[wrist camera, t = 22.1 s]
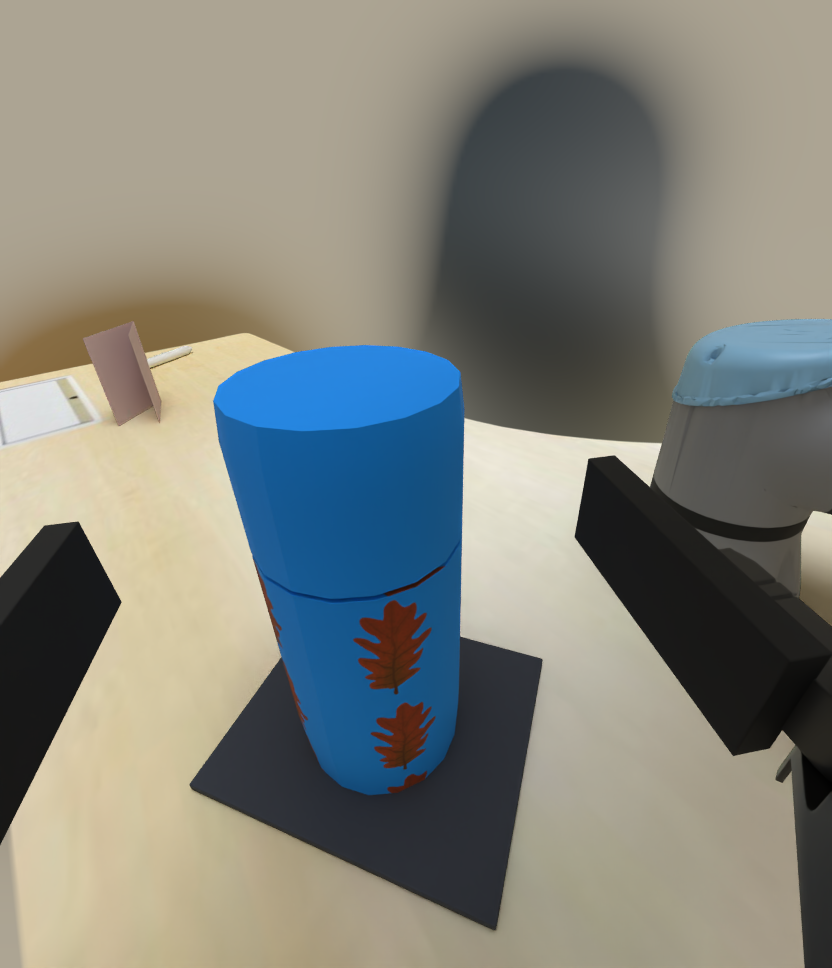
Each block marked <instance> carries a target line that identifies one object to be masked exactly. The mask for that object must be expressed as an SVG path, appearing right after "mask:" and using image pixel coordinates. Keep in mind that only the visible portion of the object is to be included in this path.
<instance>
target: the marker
mask: <svg viewBox="0 0 832 968" xmlns="http://www.w3.org/2000/svg"><path fill="white" fill-rule="evenodd" d="M191 351H192V347H190V346H183V347H180V348H177V349H174V350H171V351H168V352H164V353H161V354H159V355H156V356H154V357H151V358H148V359H147V361H148V364H149V367H150V368H152V367H155V366H157V365H160V364H163V363H165V362H168V361H171V360H173V359H176V358H179V357H182V356H184V355H187V354H189V353H190V352H191Z"/></svg>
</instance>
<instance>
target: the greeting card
mask: <svg viewBox="0 0 832 968" xmlns="http://www.w3.org/2000/svg"><path fill="white" fill-rule="evenodd" d="M83 341H84V343H85V346H86V348H87V350H88V353H89V355H90V358H91V360H92V362H93V365H94V367H95V370H96V372H97V375H98V377H99V380H100V382H101V384H102V387H103V389H104V392H105V394H106V397H107V399H108V401H109V404H110V406H111V409H112V411H113V414H114V416H115V418H116V421H117V423H118V426H120V425H122V424H123V423H125V422H127V421H128V420H130V419H132V418H133V417H135V416H137V415H139V414H140V413H142V412H144V411H145V410H147V409H149V408H150V407H152V406H154V409H155V412H156V415H157V417H158V420H159V423H160V412H161V399H160V396H159V393H158V390H157V387H156V384H155V382H154V379H153V376H152V373H151V370H150V367H149V364H148V361H147V359H146V356H145V353H144V350H143V347H142V344H141V342H140V338H139V336H138V333H137V330H136V327H135V324H134V322H130V323H127V324H124V325H121V326H118V327H115V328H112V329H109V330H106V331H104V332H101V333H98V334H95V335H92V336H89V337H86V338H83Z"/></svg>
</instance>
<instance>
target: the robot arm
mask: <svg viewBox="0 0 832 968" xmlns="http://www.w3.org/2000/svg"><path fill="white" fill-rule="evenodd" d="M672 398H673V400H674V401H673V405H672V409H671V412H670V416H669V420H668V424H667V428H666V431H665V435H664V439H663V442H662V446H661V449H660V453H659V456H658V460H657V463H656V467H655V470H654V475H653V478H652V482H651V485H650V487H649V486H648V485H647V484H646V483H644V482H643V481H642V480H641V479H640V478H639V477H638V476H637V475H636V474H635V473H633V472H632V471H631V470H630V469H629V468H628V467H627V466H626V465H625V464H624V463H622V462H621V461H620V460H619V459H618V458H617V457H616V456H606V457H598V458H590V459H588V465H587V470H586V476H585V482H584V487H583V493H582V499H581V504H580V510H579V515H578V521H577V527H576V532H575V538H576V540H577V541H578V543H579V544H580V545H581V547H582V548H583V549H584V551H585V552H586V554H587V555H588V556H589V558H590V559H591V560H592V562H593V563H594V565H595V566H596V567H597V569H598V570H599V572H600V573H601V574H602V576H603V577H604V578H605V580H606V581H607V583H608V584H609V585H610V587H611V588H612V589H613V591H614V592H615V594H616V595H617V596H618V598H619V599H620V601H621V602H622V603H623V605H624V606H625V607H626V609H627V610H628V612H629V613H630V614H631V616H632V617H633V618H634V620H635V621H636V623H637V624H638V625H639V627H640V628H641V630H642V631H643V632H644V634H645V635H646V636H647V638H648V639H649V641H650V642H651V643H652V645H653V646H654V647H655V649H656V650H657V652H658V653H659V654H660V656H661V657H662V658H663V660H664V661H665V663H666V664H667V665H668V667H669V668H670V670H671V671H672V672H673V674H674V675H675V676H676V678H677V679H678V681H679V682H680V683H681V685H682V686H683V687H684V689H685V690H686V692H687V693H688V694H689V696H690V697H691V699H692V700H693V701H694V703H695V704H696V705H697V707H698V708H699V710H700V711H701V712H702V714H703V715H704V716H705V718H706V719H707V721H708V722H709V723H710V725H711V726H712V728H713V729H714V730H715V732H716V733H717V734H718V736H719V737H720V739H721V740H722V741H723V743H724V744H725V745H726V747H727V748H728V750H729V751H730V752H731V754H732V755H733V756H735V755H740V754H745V753H749V752H754V751H759V750H764V749H769V748H770V747H771V746H772V744H773V743H774V741H775V740H776V738H777V737H778V735H779V734H780V732H781V731H782V730H783V731H784V732H785V733H786V734H787V736H788V737H789V738H790V739H791V740H792V741H793V743H794V744H795V746H794V748H793V749H792V751H791V752H790V753H789V755H788V756H787V758H786V759H785V760H784V762H783V763H782V764H781V766H780V767H779V769H778V771H777V775H776V779H775V780H777V781H779V782H782V783H783V781H784V780H785V779H786V777H787V776H788V775H789V773H790V772H791V771H792V785H793V800H794V815H795V830H796V845H797V860H798V875H799V890H800V905H801V920H802V934H803V949H804V964H805V968H832V627H831V626H830V625H829V624H828V623H827V622H826V621H824V620H823V619H822V618H821V617H820V616H819V615H817V614H816V613H815V612H814V611H813V610H812V609H810V608H809V607H808V606H807V605H806V604H805V603H803V602H802V601H801V600H800V599H799V595H800V586H801V533H802V531H803V529H804V527H805V525H806V523H807V521H808V519H809V517H810V515H811V513H812V512H813V511H819V512H823V513H827V514H831V515H832V320H831V319H830V320H829V319H791V320H776V321H763V322H754V323H747V324H741V325H736V326H732V327H727V328H724V329H720V330H717V331H715V332H712V333H710V334H708V335H706V336H704V337H703V338H701V339H700V340H699V341H698V342H696V344H695V345H694V346H693V347H692V348H691V350H690V351H689V353H688V355H687V358H686V361H685V364H684V367H683V370H682V373H681V376H680V379H679V382H678V384H677V386H676V387H675V388H674V390H673V393H672ZM120 604H121V600H120V598H119V596H118V594H117V593H116V591H115V589H114V587H113V585H112V583H111V581H110V579H109V578H108V576H107V574H106V572H105V570H104V568H103V566H102V565H101V563H100V561H99V559H98V557H97V555H96V553H95V551H94V550H93V548H92V546H91V544H90V542H89V540H88V538H87V537H86V535H85V533H84V531H83V529H82V527H81V525H80V523H79V522H70V523H62V524H54V525H46V526H44V527H43V528H42V529H41V530H40V532H39V533H38V534H37V535H36V536H35V537H34V539H33V540H32V541H31V542H30V543H29V545H28V546H27V547H26V548H25V549H24V550H23V552H22V553H21V554H20V555H19V556H18V558H17V559H16V560H15V561H14V562H13V563H12V565H11V566H10V567H9V568H8V569H7V571H6V572H5V573H4V574H3V575H2V576H1V578H0V844H1V842H2V840H3V838H4V836H5V834H6V832H7V830H8V828H9V826H10V824H11V822H12V820H13V818H14V816H15V814H16V812H17V810H18V808H19V806H20V804H21V802H22V800H23V798H24V796H25V794H26V792H27V790H28V788H29V786H30V784H31V782H32V780H33V778H34V776H35V774H36V772H37V770H38V768H39V766H40V764H41V762H42V760H43V758H44V756H45V754H46V752H47V750H48V748H49V746H50V744H51V742H52V740H53V738H54V736H55V734H56V732H57V730H58V728H59V726H60V724H61V722H62V720H63V718H64V716H65V714H66V712H67V710H68V708H69V706H70V704H71V702H72V700H73V698H74V696H75V694H76V692H77V690H78V688H79V686H80V684H81V682H82V680H83V678H84V676H85V674H86V672H87V670H88V668H89V666H90V664H91V662H92V660H93V658H94V656H95V654H96V652H97V650H98V648H99V646H100V644H101V642H102V640H103V638H104V636H105V634H106V632H107V630H108V628H109V626H110V624H111V622H112V620H113V618H114V616H115V614H116V612H117V610H118V608H119V606H120Z"/></svg>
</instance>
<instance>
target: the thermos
mask: <svg viewBox="0 0 832 968" xmlns="http://www.w3.org/2000/svg"><path fill="white" fill-rule="evenodd" d="M213 402H214V409H215V416H216V423H217V430H218V437H219V443H220V446H221V450H222V453H223V457H224V460H225V464H226V467H227V470H228V474H229V477H230V481H231V484H232V488H233V491H234V495H235V498H236V501H237V505H238V508H239V512H240V515H241V519H242V522H243V525H244V529H245V532H246V536H247V539H248V543H249V546H250V550H251V553H252V554H253V560H254V563H255V567H256V570H257V574H258V577H259V581H260V584H261V587H262V591H263V594H264V598H265V601H266V605H267V608H268V612H269V615H270V618H271V622H272V625H273V629H274V632H275V636H276V639H277V642H278V646H279V649H280V653H281V656H282V660H283V663H284V667H285V670H286V673H287V677H288V680H289V684H290V687H291V691H292V694H293V698H294V701H295V704H296V708H297V711H298V715H299V717H300V720H301V722H302V725H303V727H304V730H305V732H306V735H307V737H308V740H309V742H310V745H311V747H312V749H313V751H314V753H315V755H316V758H317V760H318V762H319V764H320V766H321V768H322V770H323V771H324V772H326V773H327V774H328V775H329V776H330V777H331V778H333V779H334V780H335V781H336V782H337V783H338V784H339V785H341V786H342V787H344V788H347V789H351V790H354V791H357V792H360V793H363V794H367V795H377V794H388V793H398V792H400V791H402V790H404V789H406V788H409V787H411V786H413V785H415V784H417V783H419V782H421V781H423V780H425V779H426V778H427V776H428V775H429V774H430V773H431V772H432V771H433V770H434V769H435V768H436V767H437V766H438V765H439V764H440V763H441V762H442V761H443V760H444V758H445V756H446V753H447V751H448V749H449V746H450V744H451V742H452V739H453V737H454V735H455V726H456V717H457V708H458V694H459V658H460V607H461V556H462V505H463V454H464V401H463V392H462V383H461V375H460V371H459V370H458V369H457V368H456V367H455V366H453V365H452V364H451V363H450V362H449V361H448V360H446V359H444V358H441V357H439V356H436V355H433V354H430V353H428V352H425V351H419V350H414V349H408V348H402V347H393V346H392V347H391V346H369V345H360V346H342V347H328V348H321V349H315V350H308V351H301V352H295V353H291V354H287V355H284V356H280V357H276V358H272V359H268V360H264V361H262V362H259V363H257V364H255V365H252V366H250V367H248V368H245V369H243V370H240V371H238V372H236V373H235V374H234V375H232V376H231V377H230V378H228V379H227V380H226V381H224V382H223V383H222V384H220V385H219V386H218V389H217V392H216V395H215V398H214V401H213Z"/></svg>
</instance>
